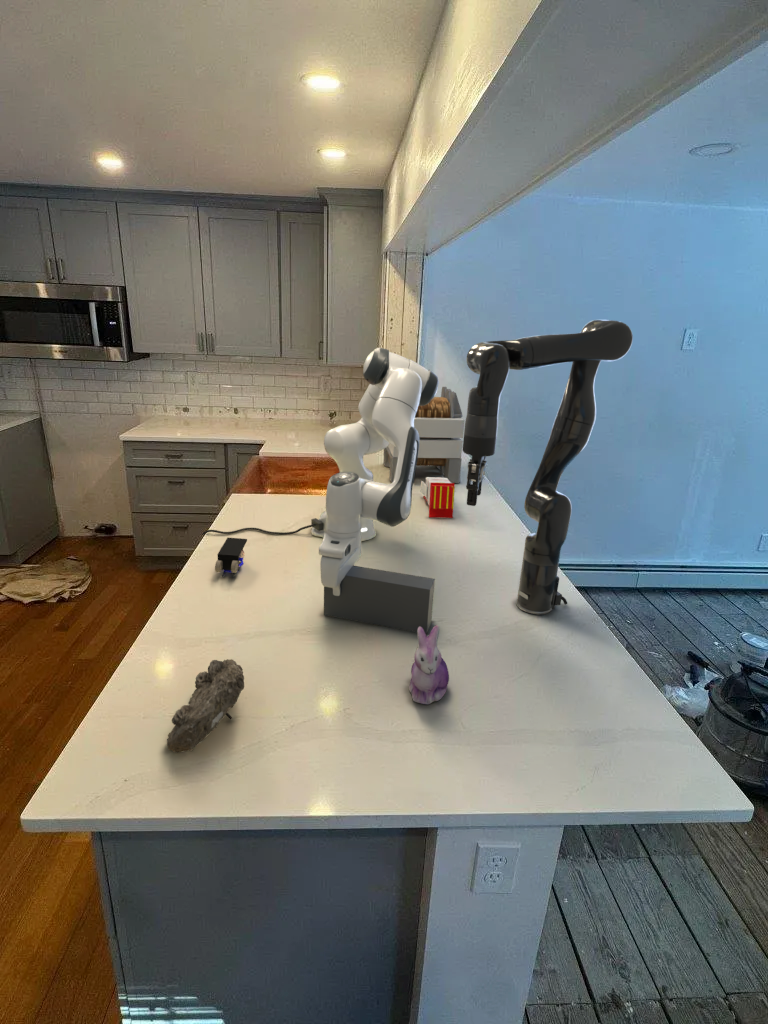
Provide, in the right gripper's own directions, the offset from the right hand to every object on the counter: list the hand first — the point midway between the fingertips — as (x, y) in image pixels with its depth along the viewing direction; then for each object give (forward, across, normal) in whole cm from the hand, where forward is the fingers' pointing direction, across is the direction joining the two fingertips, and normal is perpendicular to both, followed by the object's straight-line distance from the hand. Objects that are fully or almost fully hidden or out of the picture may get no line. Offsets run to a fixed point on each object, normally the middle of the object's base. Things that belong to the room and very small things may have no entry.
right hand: (473, 499), depth 136 cm
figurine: (+32, -33, +2) cm, 46 cm away
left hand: (+25, -8, +30) cm, 40 cm away
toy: (+32, +84, +23) cm, 93 cm away
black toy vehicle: (+32, +4, +69) cm, 76 cm away
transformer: (+32, +130, +40) cm, 140 cm away
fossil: (+32, -54, +40) cm, 74 cm away
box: (+32, -8, +20) cm, 39 cm away
